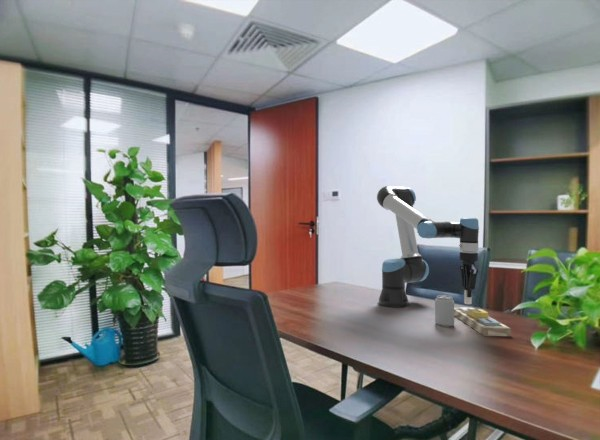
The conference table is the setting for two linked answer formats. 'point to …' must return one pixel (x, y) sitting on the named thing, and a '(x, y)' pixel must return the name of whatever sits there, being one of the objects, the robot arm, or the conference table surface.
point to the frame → (482, 329)
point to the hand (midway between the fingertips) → (467, 303)
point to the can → (444, 310)
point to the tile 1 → (465, 309)
